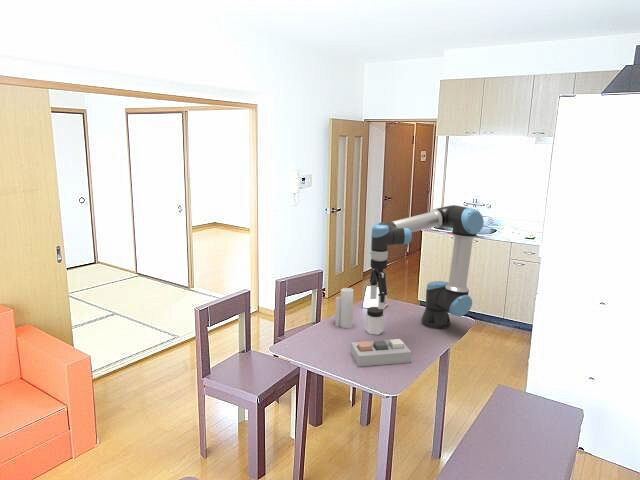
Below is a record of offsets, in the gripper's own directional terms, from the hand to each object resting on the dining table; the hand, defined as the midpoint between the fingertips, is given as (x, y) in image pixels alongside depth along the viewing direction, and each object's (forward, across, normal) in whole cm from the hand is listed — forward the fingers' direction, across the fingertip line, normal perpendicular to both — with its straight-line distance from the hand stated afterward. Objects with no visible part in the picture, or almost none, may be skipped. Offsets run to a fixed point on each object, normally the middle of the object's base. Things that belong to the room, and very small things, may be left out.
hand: (377, 303), depth 219 cm
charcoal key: (+18, +9, 0) cm, 20 cm away
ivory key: (+18, +9, +7) cm, 21 cm away
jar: (+23, -20, +5) cm, 30 cm away
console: (+22, +9, 0) cm, 24 cm away
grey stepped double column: (+23, -30, -10) cm, 39 cm away
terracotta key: (+18, +9, -8) cm, 21 cm away
